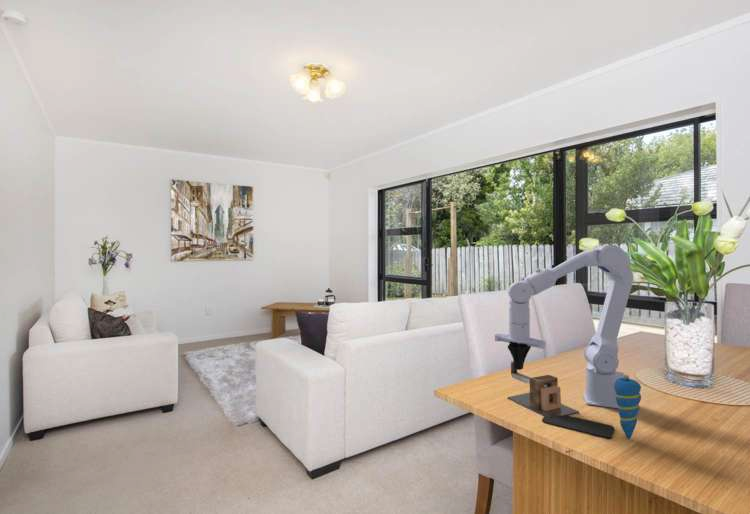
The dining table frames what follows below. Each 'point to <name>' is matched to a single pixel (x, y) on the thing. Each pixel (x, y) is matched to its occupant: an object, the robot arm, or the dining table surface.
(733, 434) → the dining table surface
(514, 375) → the crank handle
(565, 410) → the base plate
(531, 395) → the bearing block
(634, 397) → the ornament
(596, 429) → the phone
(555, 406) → the collar
